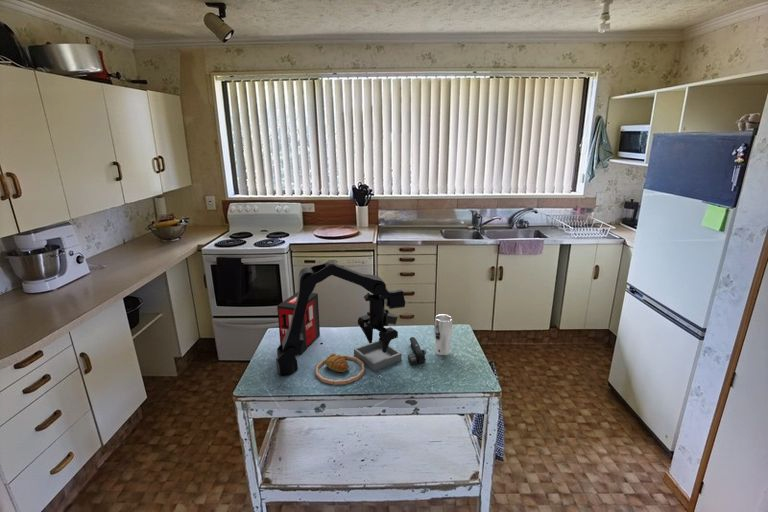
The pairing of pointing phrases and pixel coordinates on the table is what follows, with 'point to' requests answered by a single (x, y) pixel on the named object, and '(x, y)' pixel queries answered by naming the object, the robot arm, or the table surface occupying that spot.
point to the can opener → (416, 352)
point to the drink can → (442, 334)
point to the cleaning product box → (310, 320)
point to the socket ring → (341, 380)
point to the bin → (377, 355)
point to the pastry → (337, 363)
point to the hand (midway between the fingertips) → (377, 347)
